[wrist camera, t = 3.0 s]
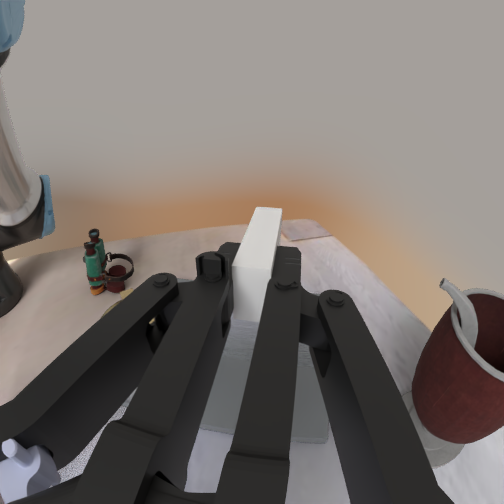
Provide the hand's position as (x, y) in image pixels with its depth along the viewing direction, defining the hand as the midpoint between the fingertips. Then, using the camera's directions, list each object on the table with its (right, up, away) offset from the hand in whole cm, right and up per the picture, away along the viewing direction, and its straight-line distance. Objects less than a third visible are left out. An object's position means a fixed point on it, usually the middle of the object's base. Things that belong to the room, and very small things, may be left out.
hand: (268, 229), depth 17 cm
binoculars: (-28, -7, +34) cm, 44 cm away
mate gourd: (+20, -23, +8) cm, 32 cm away
